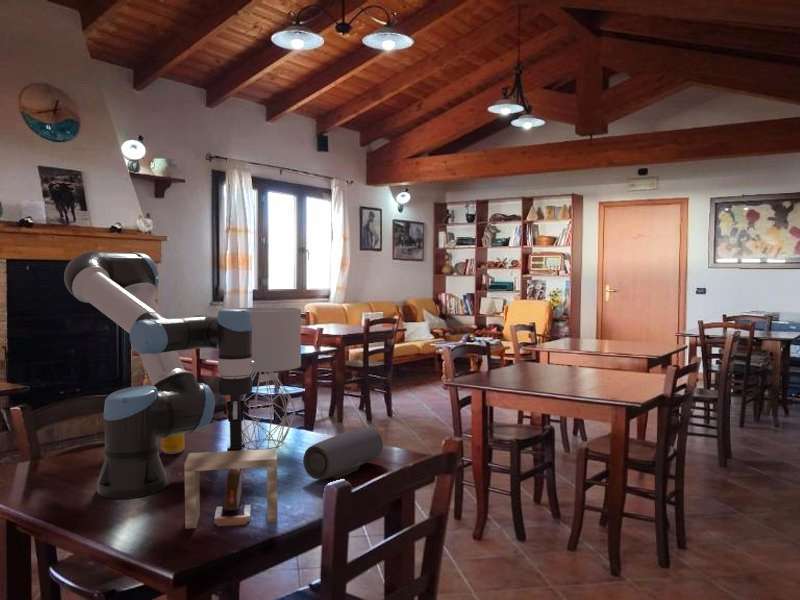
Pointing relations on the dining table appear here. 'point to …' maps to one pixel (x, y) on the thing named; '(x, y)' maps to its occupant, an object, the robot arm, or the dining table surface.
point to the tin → (233, 489)
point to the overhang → (228, 461)
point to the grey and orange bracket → (232, 517)
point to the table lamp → (274, 355)
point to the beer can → (173, 444)
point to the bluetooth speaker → (342, 453)
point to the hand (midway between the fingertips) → (236, 477)
